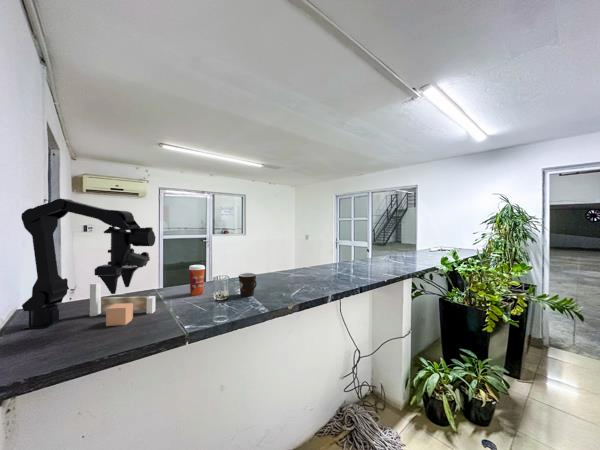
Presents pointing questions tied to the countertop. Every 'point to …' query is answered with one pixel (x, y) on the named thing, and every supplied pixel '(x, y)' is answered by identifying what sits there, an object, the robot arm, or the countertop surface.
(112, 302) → the gate
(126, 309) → the doorstop block
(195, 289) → the paper cup
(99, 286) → the twin post hurdle
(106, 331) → the countertop surface
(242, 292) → the coffee mug
